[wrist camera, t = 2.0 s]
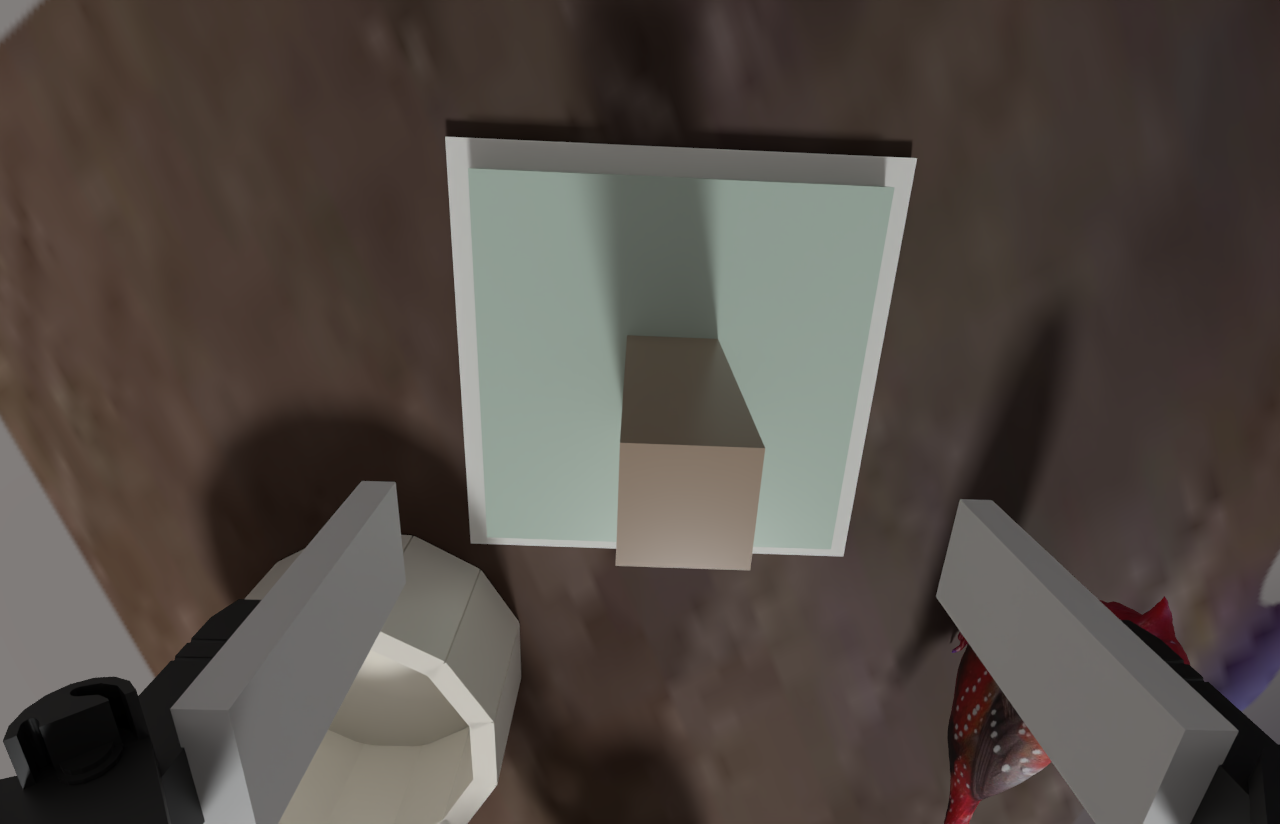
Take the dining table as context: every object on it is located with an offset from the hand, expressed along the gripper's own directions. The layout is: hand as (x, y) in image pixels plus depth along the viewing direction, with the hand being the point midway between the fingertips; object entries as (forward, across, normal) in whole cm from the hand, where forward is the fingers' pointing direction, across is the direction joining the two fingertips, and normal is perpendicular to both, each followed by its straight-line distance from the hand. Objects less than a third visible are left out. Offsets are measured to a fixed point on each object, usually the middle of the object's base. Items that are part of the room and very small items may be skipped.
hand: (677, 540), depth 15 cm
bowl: (+13, -12, -15) cm, 23 cm away
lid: (+12, 0, 0) cm, 12 cm away
